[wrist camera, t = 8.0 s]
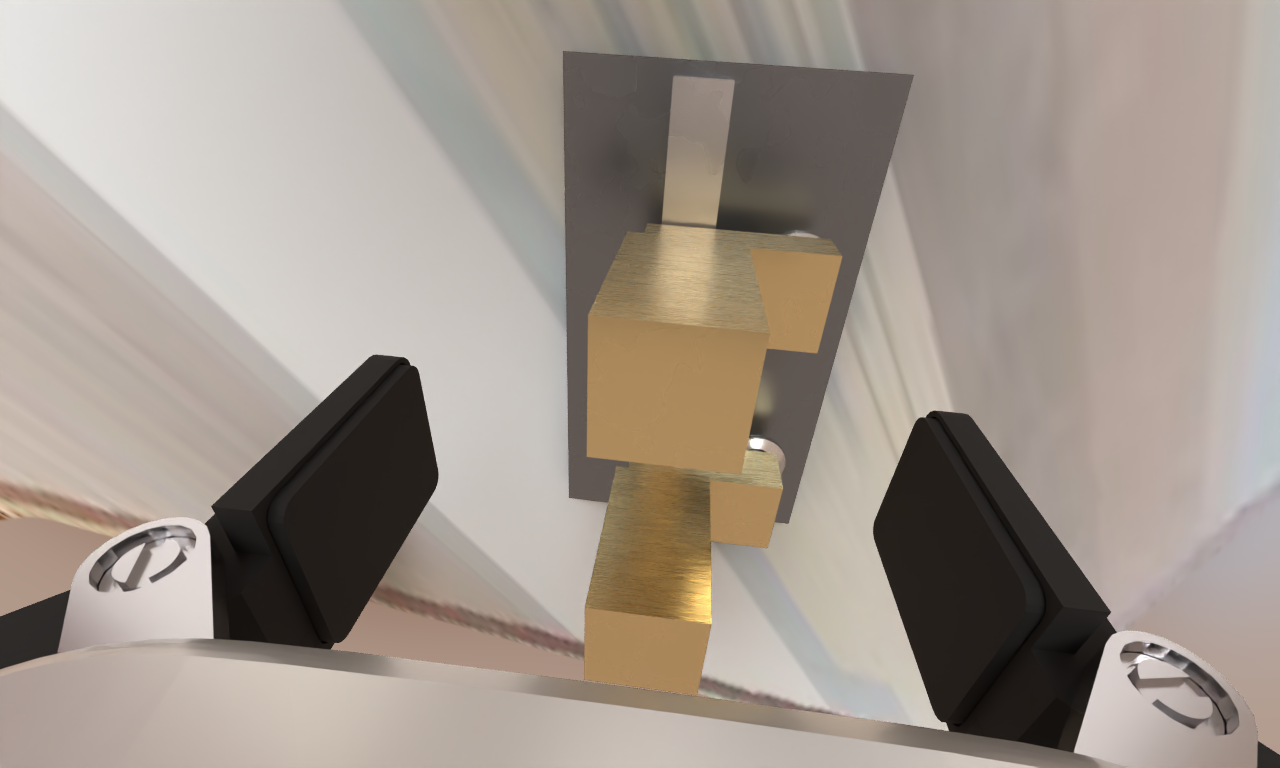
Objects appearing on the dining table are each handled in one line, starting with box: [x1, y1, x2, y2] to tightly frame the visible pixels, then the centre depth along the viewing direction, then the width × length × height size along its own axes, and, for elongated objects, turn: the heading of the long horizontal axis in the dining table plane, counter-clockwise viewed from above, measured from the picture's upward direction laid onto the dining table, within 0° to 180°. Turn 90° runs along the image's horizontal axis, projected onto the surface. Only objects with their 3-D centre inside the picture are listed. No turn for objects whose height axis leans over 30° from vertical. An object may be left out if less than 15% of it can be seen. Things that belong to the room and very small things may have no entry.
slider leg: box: [587, 223, 842, 474], centre depth 17 cm, size 4×7×10 cm, turn 87°
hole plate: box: [563, 51, 914, 695], centre depth 20 cm, size 21×12×12 cm, turn 177°
